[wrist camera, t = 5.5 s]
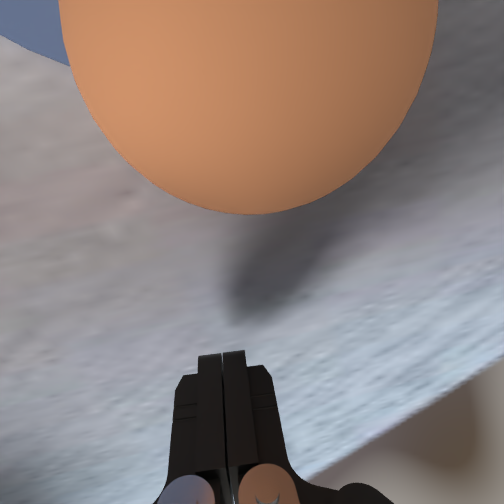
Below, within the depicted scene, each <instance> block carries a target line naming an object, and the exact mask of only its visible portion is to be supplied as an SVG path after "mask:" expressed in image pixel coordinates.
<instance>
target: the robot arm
mask: <svg viewBox="0 0 504 504" xmlns="http://www.w3.org/2000/svg"><path fill="white" fill-rule="evenodd" d="M233 496H234V500H233ZM234 501H235V504H394V503H393V502H391V501H390V500H389V499H388V498H386V497H385V496H384V495H383V494H382V493H380V492H379V491H378V490H376V489H375V488H373V487H371V486H369V485H366V484H363V483H351V484H347V485H345V486H343V487H342V488H341V489H340V490H339V491H338V490H333V489H329V488H324V487H320V486H316V485H312V484H310V483H308V482H306V481H304V480H303V479H301V478H300V477H299V476H298V475H297V474H296V473H295V471H294V470H293V469H292V467H291V465H290V463H289V461H288V457H287V453H286V448H285V442H284V437H283V432H282V427H281V422H280V417H279V412H278V407H277V401H276V396H275V391H274V386H273V381H272V377H271V375H270V374H269V373H268V371H267V370H266V368H265V367H264V366H263V365H257V366H250V367H247V365H246V357H245V350H240V351H233V352H225V353H223V361H222V355H221V353H218V354H210V355H202V356H199V357H198V373H197V374H190V375H183V377H182V379H181V380H180V382H179V384H178V386H177V388H176V390H175V399H174V410H173V423H172V432H171V443H170V455H169V466H168V475H167V480H166V484H165V486H164V488H163V490H162V492H161V494H160V495H159V497H158V498H157V499H156V501H155V502H154V503H153V504H234Z"/></svg>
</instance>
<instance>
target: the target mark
mask: <svg viewBox="0 0 504 504" xmlns="http://www.w3.org/2000/svg"><path fill="white" fill-rule="evenodd" d="M0 35H2V36H4V37H6V38H7V39H9V40H11V41H13V42H15V43H17V44H19V45H20V46H22V47H24V48H26V49H28V50H30V51H33V52H35V53H38V54H40V55H43V56H45V57H48V58H50V59H53V60H55V61H58V62H60V63H63V64H65V65H68V66H70V63H69V60H68V56H67V52H66V49H65V45H64V42H63V35H62V27H61V20H60V11H59V2H58V0H0Z"/></svg>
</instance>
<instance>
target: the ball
mask: <svg viewBox="0 0 504 504" xmlns="http://www.w3.org/2000/svg"><path fill="white" fill-rule="evenodd" d="M58 2H59V11H60V20H61V27H62V35H63V42H64V45H65V49H66V52H67V56H68V60H69V63H70V66H71V69H72V72H73V76H74V79H75V82H76V84H77V86H78V88H79V91H80V93H81V95H82V97H83V99H84V101H85V103H86V105H87V107H88V109H89V111H90V113H91V115H92V117H93V119H94V120H95V122H96V123H97V125H98V126H99V127H100V129H101V130H102V132H103V133H104V134H105V136H106V137H107V139H108V140H109V141H110V143H111V144H112V146H113V147H114V148H115V149H116V150H117V151H118V153H119V154H120V155H121V156H122V157H123V158H124V159H125V160H126V161H127V162H128V163H129V164H130V165H131V166H132V167H133V168H135V169H136V170H137V171H138V172H139V173H141V174H142V175H143V176H144V177H145V178H147V179H148V180H149V181H150V182H152V183H153V184H155V185H156V186H158V187H159V188H161V189H162V190H164V191H166V192H167V193H169V194H171V195H173V196H175V197H177V198H179V199H181V200H183V201H186V202H188V203H191V204H194V205H197V206H200V207H202V208H205V209H209V210H214V211H219V212H224V213H232V214H243V215H253V214H268V213H274V212H281V211H285V210H288V209H292V208H295V207H298V206H302V205H305V204H308V203H311V202H313V201H315V200H317V199H319V198H322V197H324V196H326V195H327V194H329V193H331V192H332V191H334V190H336V189H337V188H339V187H340V186H342V185H343V184H345V183H346V182H348V181H349V180H351V179H352V178H353V177H355V176H356V175H357V174H358V173H359V172H360V171H361V170H362V169H363V168H364V167H366V166H367V165H368V164H369V163H370V162H371V161H372V160H373V159H374V158H375V157H376V156H377V155H378V154H379V153H380V151H381V150H382V149H383V148H384V146H385V145H386V144H387V142H388V141H389V140H390V139H391V137H392V136H393V135H394V133H395V132H396V131H397V129H398V128H399V127H400V125H401V123H402V121H403V119H404V117H405V116H406V114H407V112H408V110H409V108H410V106H411V105H412V103H413V101H414V99H415V97H416V95H417V93H418V90H419V88H420V85H421V82H422V79H423V77H424V74H425V71H426V68H427V65H428V62H429V58H430V55H431V50H432V46H433V41H434V36H435V31H436V23H437V15H438V0H58Z"/></svg>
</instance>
